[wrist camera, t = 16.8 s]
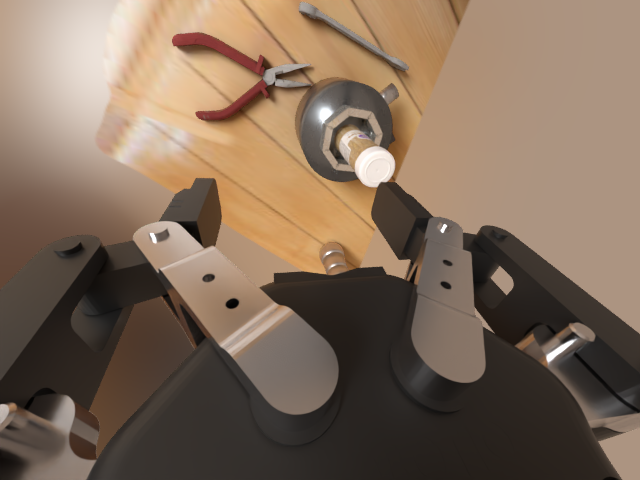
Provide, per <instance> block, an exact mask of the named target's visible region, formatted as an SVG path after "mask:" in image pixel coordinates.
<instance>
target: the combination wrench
mask: <svg viewBox="0 0 640 480" xmlns="http://www.w3.org/2000/svg"><path fill="white" fill-rule="evenodd" d="M299 12H300V13H301V14H303V15H305V13H306V15H307V16H309V17H310V18H313V19H320V20H322V21H324V22H326V23H327V24H328V25H330V26H331V27H333V28H335V29H336V30H338V31H339V32H341V33H343V34H344V35H346V36H347V37H349V38H351V39H352V40H354V41H355V42H357V43H359V44H360V45H362V46H363V47H365V48H367V49H368V50H370V51H371V52H373V53H375V54H376V55H378V56H380V57H382V58H383V59H385V60H386V61H387V62H388V63H389V64H390V65H391V66H393V67H395V68H396V69H399V70H402V71H405V70H408V69H409V67H408V66H407V65H406V64H405V63H404V62H403V61H401V60H399V59H397V58H394V57H391V56H389V55H387V54H386V53H384V52H383V51H381V50H380V49H379V48H377V47H376V46H374V45H372V44H371V43H369V42H368V41H366V40H365V39H363V38H362V37H360V36H358V35H357V34H355V33H354V32H352V31H351V30H349V29H347V28H346V27H344V26H343V25H341V24H340V23H338V22H337V21H335V20H333V19H332V18H330V17H328V16H327V15H325V14H324V13H322V12H320V11H319V10H318V9H317V8H316V7H314V6H313V5H310V4H308V3H305V2H300V5H299Z"/></svg>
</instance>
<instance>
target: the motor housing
mask: <svg viewBox="0 0 640 480" xmlns="http://www.w3.org/2000/svg"><path fill="white" fill-rule="evenodd" d="M398 97H399V93H398V90H397V88H396V87H395V85H394V84H392V83H391V84H390V85H388V86H387V87H386V88H385V89H383V90H382V91H381V92H380V93H379V92H378V91H376V90H375V89H374V88H372V87H370V86H368V85H365V84H362V83H358V82H355V81H351V80H348V79H344V78H338V77H333V78H327V79H324V80H321V81H319V82H317V83H316V84H314V85H313V86H312V87H311V88H310V89H309V90H308V91H307V92H306V93H305V94H304V96H303V97H302V99H301V101H300V103H299V105H298V108H297V112H296V117H295V129H296V134H297V137H298V140H299V143H300V145H301V147H302V150H303V152H304V155H305V157H306V159H307V161H308V163H309V164H310V166H311V167H312V168H313V170H314V171H315V172H317V173H318V174H319V175H320V176H322V177H324V178H326V179H328V180H331V181H337V182H347V181H352V180H356V179H358V177H357V175H356V173H355V171H354V170H353V169H352V168H351V166H350V165H349V164H348V162H347V161H346V160H345V158H344V157H343V156H342V154H341V152H339V151H338V150H337V149H336V147H335V143H334V138H335V135H336V133H337V131H338V130H339V129H340V128H341V127H342V126H344V125H348V124H351V125H354V126H356V127H358V129H359V130H360V131H361V132H363V133H364V134H365V135H366V136H368V137H369V138H370V139H371V140H372V141H373V142H374V143H375V144H377V145H378V146H379V147H382V148H384V149H386V150H387V149H388V147H389V144H391V143H392V142H394V141H395V138H394V136H393V134H392V116H391V112H390V109H389V106H388V105H389V104H390V103H391V102H393V101H394V100H395V99H397V98H398Z"/></svg>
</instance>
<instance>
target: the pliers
mask: <svg viewBox="0 0 640 480" xmlns="http://www.w3.org/2000/svg"><path fill="white" fill-rule="evenodd" d="M172 43H173V46H186V45H205V46H208V47H211V48H213V49H215V50H217V51H219V52H220V53H222V54H224V55H226V56H227V57H229V58H231V59H233V60H234V61H236V62H238V63H240V64H242V65H243V66H245V67H247V68H249V69H250V70H252V71H254V72H256V73H257V74H259V75H261V76H262V75H263V79H262V80H261V81H260V82H258V83H257V84H256V85H255V86H253V87H252V88H251V89H250V90H249V91H247V92H246V93H245V94H244V95H242V96H241V97H240V98H239V99H237V100H236V101H235V102H234V103H232V104H231V105H230V106H228V107H227V108H225V109H222V110H218V111H198V112H196V116H197V117H198V118H199V119H201V120H223V119H226V118H229V117H230V116H232V115H234V114H235V113H237V112H238V111H239V110H240V109H242V108H243V107H244V106H245V105H247V104H248V103H249V102H250V101H252V100H253V99H254V98H255V97H257V96H258V95H259V94H261V93H262V92H263V94H264V95H265V97H266V98H268V97H269V96H270V95H269V93H268V92H267V90H266V88H267V87H268V86H267V85H275V86H280V87H287V88H289V87H300V86H310V85H311V84H306V83H301V82H295V81H290V80H284V79H283V80H281V79H276V78H275V75H278V74H281V73H285V72H289V71H292V70H295V69H299V68H302V67H306V66H309V65H311V64H285V65H281V66H277V67H274V68H271V69H264V68H265V67H264V66H262V62H263V59H264V57H263V56H262V55H260V56H259V60H258V62H256V61H255V60H253V59H251V58H249V57H248V56H246V55H244V54H243V53H241V52H239V51H237V50H236V49H234V48H232V47H231V46H229V45H227V44H225V43H224V42H222V41H220V40H219V39H217V38H215V37H212V36H210V35H207V34H204V33H199V32H197V33H186V34H177V35H175V36H174V37H173V39H172Z"/></svg>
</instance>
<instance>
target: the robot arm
mask: <svg viewBox="0 0 640 480" xmlns="http://www.w3.org/2000/svg"><path fill="white" fill-rule="evenodd" d="M371 215H372V219H373V221H374V223H375V224H376V226H377V227H378V228H379V230H380V232H381V233H382V235H383V236H384V238H385V239H386V241H387V242H388V244H389V245H390V247H391V248H392V250H393V252H394V253H395V255H396V256H397V258H398V259H399V260H406V259H410V260H411V261H410V263H409V265H408V268H407V271H406V275H405V278H404V279H402V278H399V277H396V276H392V275H387V274H386V272H385V271H384V269H383V267H368V268H356V269H353V270H349V271H346V272H342V273H339V274H336V275H326V274H318V273H310V272H289V273H274V282H272V283H269V284H267V285H264V286H262V287H260V288H259V287H258V286H257V285H256V284H255V283H253V282H252V281H251V280H250V279H249V278H248V277H247V276H246V275H244V273H243V272H241V271H240V270H239V269H238V268H237V267H236V266H235V265H234V264H233V263H232V262H230V261H229V259H227V258H226V257H225V256H224V255H223V254H222V253H221V252H220V251H219V250H218V249H217V248H215V245H216V241H217V237H218V233H219V229H220V225H221V219H222V215H221V206H220V201H219V195H218V189H217V184H216V180H215V179H214V178H196V179H195V181H194V183H193V185H192V187H191V189H183V190H182V191H180V192H179V193H177V194H175V196H174V198H173V199H172V202H171V203H170V204H169V206H168V208H167V209H166V211H165V212H164V214H163V215H162V217H161V219H160V220H159V222H155V223H151V224H148V225H146V226H143V227H142V228H140V229H139V230H137V231H136V232H135V234H134V236H133V241H129V242H125V243H119V244H114V245H109V246H103V244H102V243H101V241H100V239H99V238H97V237H95V236H92V235H77V236H71V237H68V238H64V239H61V240H58V241H55V242H53V243H51V244H49V245H48V246H46V247H44V248H43V249H41V250H40V251H39V252H38V253H37V254H36V255H35V256H34V257H33V258H32V259H31V260H30V261H29V262H28V263H27V264H26V265H25V266H24V267H23V268H22V269H21V270H20V271H19V272H18V273H17V274H16V275H15V276H14V277H13V278H12V279H11V280H10V281H9V282H8V283H7V284H6V285H5V286H3V287H2V289H1V290H0V480H622V479H621V477H620V476H619V474H618V473H617V471H616V470H615V468H614V467H613V465H612V464H611V462H610V461H609V459H608V458H607V456H606V454H605V453H604V451H603V449H602V448H601V446H600V444H599V443H598V441H601V440H604V439H607V438H610V437H613V436H616V435H619V434H622V433H625V432H628V431H631V430H634V429H637V428H640V334H639V333H638V332H636V331H635V330H634V329H633V328H631V327H630V326H629V325H627V324H626V323H625V322H624V321H622V320H621V319H620V318H619V317H617V316H616V315H615V314H613V313H612V312H611V311H609V310H608V309H607V308H606V307H604V306H603V305H602V304H601V303H599V302H598V301H597V300H596V299H594V298H593V297H591V296H590V295H589V294H588V293H587V292H585V291H584V290H583V289H581V288H580V287H579V286H578V285H576V284H575V283H574V282H572V281H571V280H570V279H569V278H567V277H566V276H565V275H563V274H562V273H561V272H560V271H558V270H557V269H556V268H555V267H553V266H552V265H551V264H549V263H548V262H547V261H546V260H544V259H543V258H542V257H540V256H539V255H538V254H537V253H535V252H534V251H533V250H531V249H530V248H529V247H528V246H526V245H525V244H524V243H522V242H521V241H520V240H519V239H517V238H516V237H515V236H514V235H512V234H511V233H509V232H508V231H506V230H503V229H501V228H498V227H495V226H482V227H481V228H480V230H479V232H478V233H477V235H475V234H469V233H463V230H462V228H461V227H460V226H459V225H458V224H457V223H455V222H453V221H451V220H449V219H446V218H442V217H433V216H432V215H431V214H430V213H429V212H428V211H427V210H426V209H425V208H424V207H422V205H421V204H420V203H419V202H417V200H416V199H414V197H412V196H411V195H409V194H407V193H406V192H405V191H404V190H403V189H402V188H401V187H400V186H399V185H398V184H397V183H395V182H380V183H379V185H378V188H377V191H376V195H375V199H374V202H373V206H372V211H371ZM499 266H501V267H502V268H503V269H504V270H505V271H506V272H507V273H508V274H509V275H510V276H511V277H512V279H513V282H514V287H513V289H512V290H511V291H510V292H509V294H508V295H506V294H505V293H504V292H503V291H502V290H501V289H500V288H499V287H498V286H497V285H496V284H495V283H494V282H493V280H492V279H491V276H492V275H493V274H494V272H495V271H496V270H497V269H498V267H499ZM160 296H161V298H162V299H163V301H164V302H165V304H166V305H167V307H168V308H169V310H170V311H171V312H172V314H173V315H174V317H175V318H176V320H177V321H178V322H179V324H180V325H181V327H182V328H183V330H184V331H185V333H186V335H187V336H188V338H189V340H190V342H191V344H192V345H193V347H194V349H195V350H194V351H193V352H192V353H191V354H190V355H189V356H188V357H187V358H186V359H185V360H184V362H182V363H181V365H180V366H179V367H178V368H177V369H176V370H175V371H174V372H173V373H172V374H171V375H170V376H169V377H168V378H167V379H166V380H165V381H164V382H163V383H162V385H161V386H160V387H159V388H158V389H157V390H156V391H155V392H154V393H153V394H152V395H151V396H150V397H149V398H148V399H147V400H146V401H145V402H144V403H143V404H142V406H141V407H140V408H139V409H138V410H137V411H136V412H135V413H134V414H133V415H132V416H131V417H130V418H129V419H128V420H127V421H126V422H125V423H124V424H123V426H122V427H121V428H120V429H119V430H118V431H117V432H116V434H115V435H114V436H113V437H112V438H111V440H110V441H109V442H108V444H107V445H106V447H105V448H104V449H103V451H102V452H101V454H100V456H99V457H98V459H97V456H96V445H97V441H98V436H99V431H100V425H99V421H98V419H97V417H96V416H95V415H94V414H92V413H91V412H89V409H90V407H91V404H92V402H93V400H94V397H95V395H96V393H97V390H98V388H99V386H100V383H101V381H102V379H103V376H104V374H105V371H106V369H107V367H108V365H109V362H110V360H111V357H112V355H113V353H114V351H115V349H116V346H117V344H118V342H119V339H120V337H121V335H122V332H123V330H124V327H125V325H126V323H127V321H128V318H129V316H130V314H131V311H132V309H133V307H134V304H137V303H140V302H143V301H146V300H150V299H153V298H156V297H160ZM76 306H77V308H76ZM474 307H475V308H476V309H477V311H478V312H479V313H480V315H481V316H482V317H483V318H484V320H485V321H486V322H487V323H488V325H489V326H490V328H491V329H492V330H493V332H494V333H495V334H494V333H493V332H491V331H489V330H488V329H486V328H484V327H483V326H482V322H481V320H480V319H479V318H477V317H476V316H475V312H474V311H475V310H474ZM75 308H76V310H75V311H74V309H75ZM73 311H74V313H73ZM72 313H73V314H72Z"/></svg>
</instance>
